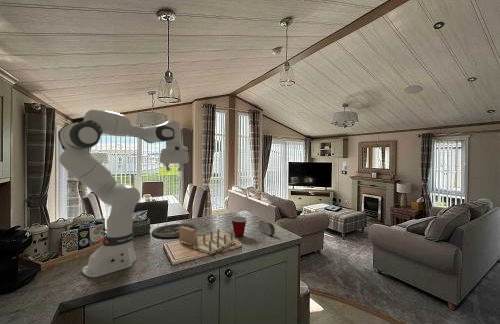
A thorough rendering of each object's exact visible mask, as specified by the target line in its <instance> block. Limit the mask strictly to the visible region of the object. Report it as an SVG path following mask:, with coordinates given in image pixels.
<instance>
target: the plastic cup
mask: <svg viewBox="0 0 500 324" xmlns="http://www.w3.org/2000/svg"><path fill="white" fill-rule="evenodd" d="M230 219H231V222H232V231H233V233H234V234H233V235H234V238H243V237H244V236H245V229H246V224H247V221H248V218H247V217H244V216H240V215H239V216H237V215H236V216H233V217H232V216H231V217H230Z"/></svg>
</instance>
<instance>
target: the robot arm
mask: <svg viewBox="0 0 500 324" xmlns="http://www.w3.org/2000/svg"><path fill="white" fill-rule="evenodd" d="M102 135H109V136H114V137H115V136H116V137H125V136H127V137H134V138H139V139H141V140H143V141H144V142H146V143H148V144H155V143H162V142H165V148H162V149H161V150H160V154H159V163H160V164H164V166H165V169H166V172H170V171H171V167H170V164H178V166H179V167H178V168H177V171H178V172H182V171H183V167H184V164H188V163H189V152H188V151H189V147H188V146H185V145H183V144H182V141H181V138H182V137H181V136H182V129H181V125H180V123H179V121H176V120H167V121H166V122H164V123H161V124H158V125H157V124H156V125H152V126H151V125H150V126H149V125H147V126H143V127H142V126H139V125H135V124H132V121H131V120H130V118H129V117H128V116H127V115H124V114H120V113H118V112H113V111H110V110H102V109H89V110H88V111H86V112H85V114H84V116H83V120H82V121H81V122H73V123H70V124H66V125H64V126H62V127H61V128H60V129H59V130H58V133H57V136H58V141H59V143H60V145H61V148H62V150H64V151H63V152H62V153H60V156H59V159H58V160H59V163H60V164H61V165H62V167H63V168H64V169H65V170H66V171H67V172H68V173H69V174H70V175H71V176H73V177H74V179H76V180H78V181H79V182H81V183H82V184H83V185H84V186H85V187H87V188H88V189H90V190H91V191H92V192H93V194H95V196H96V197H97V198H99V200H100V201H101V202H102V203H104V204H106V205H109V206H111V210H110V213H109V216H108V217H107V219H106V236H105V237H103V236H100V237H99V238H98V242H100V243H102V245H101V246H99V248H97V249H96V250H95V251H94V252H93V253H92V254H91V255H90V256H89V258H88V264H87V265H85V266H83V267H82V268H81V269H82V274H83V275H84V276H86V277H88V278H98V277H101V276H104V275H108V274H111V273H114V272H117V271H121V270H123V269H128V268H131V267H132V266H133V263H135V262H136V261H137V256H136V253H135V249H134V231H133V215H134V211H135V207H136V205H137V204H138V203H139V201H140V200H141V193H140V191H139V189H137V188H136V187H134V186H132V185H130V184H124V183H123V184H122V183H120V182H118V181H117V180H116V178H114V176H113V174H112V172H111V171H110V170H109V169H108V168H107V167H106V166H105V165H103V164H102V163H101V162H100V161H99V160H97V158H95V157H94V156H93V155H92V154H91V152H90V151H89V149H90V148H93V147H95V146H96V145H97V144H98V143H99V142H100V140H101V136H102Z"/></svg>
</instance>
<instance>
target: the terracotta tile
mask: <svg viewBox="0 0 500 324" xmlns="http://www.w3.org/2000/svg"><path fill="white" fill-rule="evenodd" d="M196 232H197V229H196V230H195V229H191V228H188V227H184V226H182V227H179V233H180V238H179V242H180V241H183V242H186V243H189V244H191V245H190V246H192V245H193V246H194V244H195V237H197V236H196V235H197V234H196ZM186 243H185V244H186ZM189 244H188V245H189Z"/></svg>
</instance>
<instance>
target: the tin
mask: <svg viewBox="0 0 500 324" xmlns="http://www.w3.org/2000/svg"><path fill="white" fill-rule="evenodd" d="M258 230H259V232H260V233H261V234H264V235H266V236H273V235H275V233H276V232H275V231H276V230H275V226H274V224H273V223H272V222H269V221H267V220H264V219H263V220H262V219H261V220H260V221H259V222H258Z"/></svg>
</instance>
